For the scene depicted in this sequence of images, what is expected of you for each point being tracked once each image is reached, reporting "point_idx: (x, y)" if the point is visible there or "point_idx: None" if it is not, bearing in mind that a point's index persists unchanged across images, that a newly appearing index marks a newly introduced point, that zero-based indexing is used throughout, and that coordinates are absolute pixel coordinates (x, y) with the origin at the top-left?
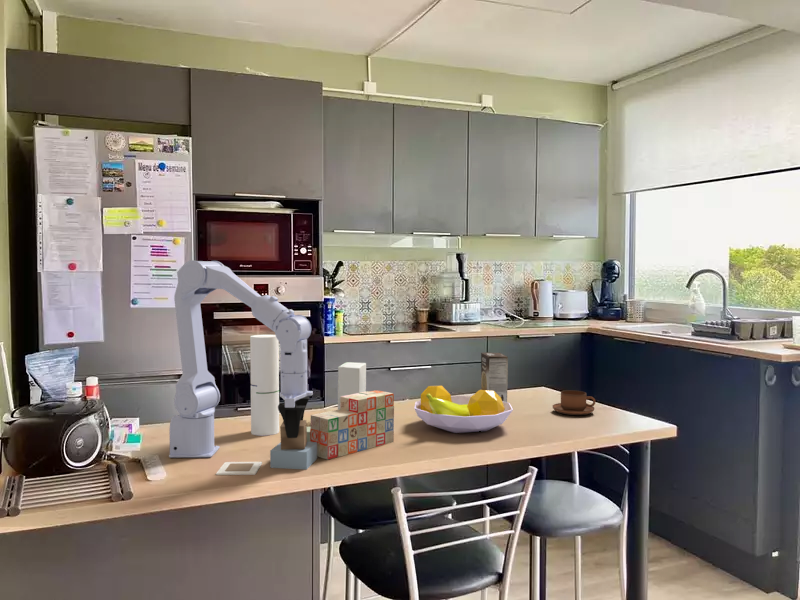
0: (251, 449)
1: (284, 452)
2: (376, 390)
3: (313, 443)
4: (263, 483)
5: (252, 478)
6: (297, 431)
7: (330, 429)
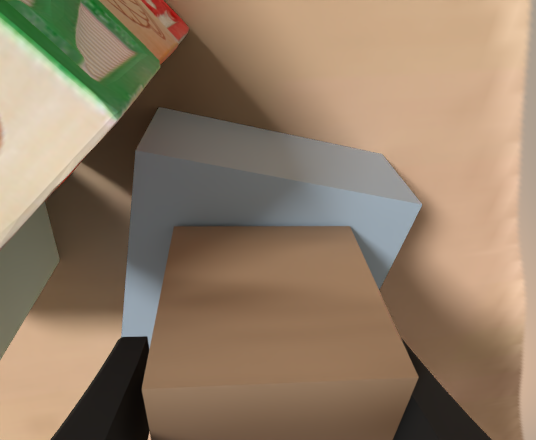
0: (34, 409)
1: None
2: None
3: (183, 176)
4: (525, 304)
5: (447, 344)
6: (430, 375)
7: (113, 35)
